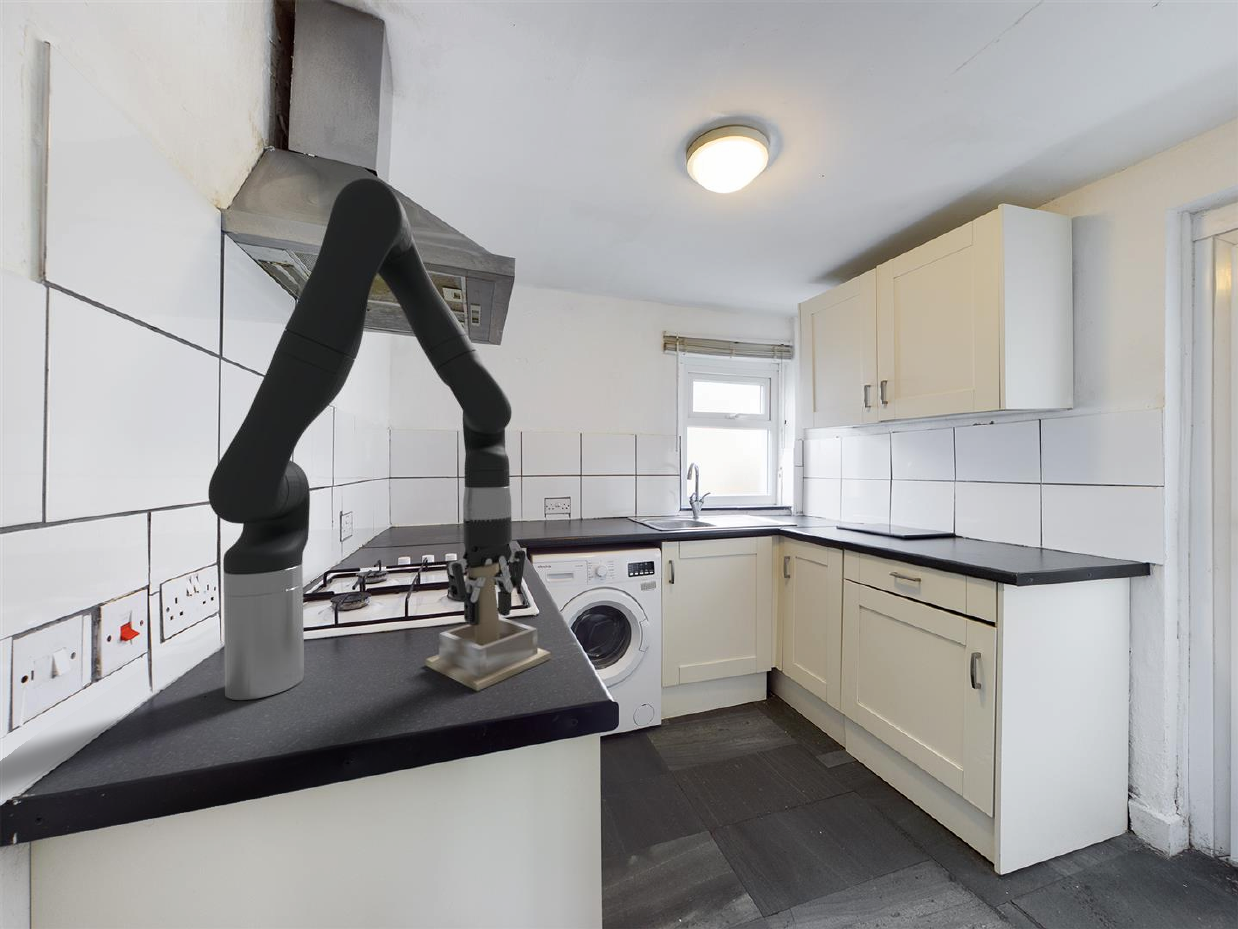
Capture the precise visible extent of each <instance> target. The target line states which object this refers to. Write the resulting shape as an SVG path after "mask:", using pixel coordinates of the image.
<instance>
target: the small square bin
mask: <svg viewBox="0 0 1238 929" xmlns="http://www.w3.org/2000/svg"><path fill="white" fill-rule="evenodd" d="M538 639H539V638H538V628H536V627H534V626H531V625H526V624H523V623H521V622H517V621H515V620H512V619H507V618H505V617H501V616H499V640H497V641H495V642H492V643H489V644H486V645H484V646H480V645H478V644H476V637H475V629H474V626H472V625H469V624H468V623H467V624H464V625H461V626H459V627H455V628H452V629H448V630H445V631H442V632H439V633H438V644H439V646H438V648H439V649H438V654H436V655H433V656H431V657H428V658H425V666H426V667H428V668H430V669H432V670H434V671H435V672H439V673H440V674H443V676H447V677H448V678H451V679H453V680H454V681H457V682H458V683H461V684H462V685H465V686H466V687H468V688H470V689H472V690H475V691H476V692H479V691H481V690H483V689H486V688H488V687H490V686H493V685H495V684H497V683H499V682H501V681H504V680H506V679H509V678H511V677H513V676H515V675H517V674H519V673H521V672H524V671H526V670H529V669H530V668H531V669H532V668H533V667H535V666H537V665H539V664H543V663H545V662H546V661H549V660H551V659H552V652H550V651H547V650H545V649H542V648H539V646H538V645H539V644H538Z"/></svg>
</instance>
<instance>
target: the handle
mask: <svg viewBox="0 0 1238 929" xmlns="http://www.w3.org/2000/svg"><path fill="white" fill-rule="evenodd" d="M466 570H467V573H468V576H470V577H472V578H473V581H476V580H477V578H479V577H480V578H486V580H485V583H484V586H483V587H482V588H481V589H480V592H479V595H478V598H477V601H478V606H479V623H478V625H475V626H474V629H475V637H476V644H478V645H480V646H484V645H486V644H489V643H492V642H495V641H497V640H499V617H500V616H499V615H500V614H499V613H498V598H497V592H496V584H495V583H496V581H495V579H494V576H495V574H496V573H498V572H499V563H498V562H495V563H492V564H491V565H489V566H485V567H482V566H480V567H476V568H470V567H468V569H467V568H466Z"/></svg>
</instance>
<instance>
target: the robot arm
mask: <svg viewBox="0 0 1238 929" xmlns="http://www.w3.org/2000/svg"><path fill="white" fill-rule="evenodd" d="M329 215H330V216H329V219H328V222H327V226H326V229H325V233H324V237H323V239H322V244H321V246H320V249H319V253H318V255H317V258H316V261H315V263H314V266H313V269H312V270H311V272H310V275H309V276H308V279H307V280H306V282H305V285H304V287H303V288H302V291H301V293H300V295H299V298H298V300H297V303H296V304H295V307H294V309H293V311H292V313H291V315H290V318H289V319H288V321H287V323H286V325H285V327H284V330H283V332H282V334H281V337H280V339H279V341H278V343H277V346H276V348H275V351H274V353H273V355H272V358H271V360H270V363H269V365H268V368H267V370H266V373H265V375H264V376H263V379H262V381H261V384H260V386H259V387H258V389H257V392H256V394H255V397H254V399H253V401H252V403H251V405H250V407H249V409H248V412H247V414H246V416H245V418H244V419H243V422H242V423H241V425H240V427H239V428H238V430H237V433H236V434H235V435H234V437H233V439H232V441H231V442H230V443H229V446H228V447H227V449H226V451H225V452H224V454H223V455H222V457H221V458H220V459H219V462H218V464H217V465H216V467H215V469H214V471H213V473H212V476H211V477H210V481H209V486H208V492H207V493H208V502H209V504H210V507H211V509H212V511H213V512H214V513H215V515H216V516H217V517H219V518H220V519H221V520H223V521H225V522H226V523H227V522H228V523H232V524H238V525H239V524H242V531H241V534H240V536H239V537H238V538H237V540H236V542H235V543H234V544H232V546H230V547H229V548H228V549H227V550H226V551H225V553H224V555H223V561H222V562H223V564H222V566H223V615H224V616H223V617H224V618H223V619H224V620H223V623H224V624H223V625H224V626H223V628H224V630H223V631H224V632H223V633H224V635H223V636H224V639H223V640H224V696H225V697H226V698H227V699H229V700H235V701H237V700H238V701H245V700H255V699H260V698H264V697H270V696H272V695H276V694H279V693H282V692H284V691H288V690H289V689H291V688H293V687H295V686H296V685H298V684H300V683H301V682H302V681H303V679H304V676H305V673H304V672H305V667H304V666H305V664H304V662H305V659H304V658H305V657H304V656H305V654H304V652H305V651H304V648H305V647H304V645H305V644H304V643H305V642H304V584H303V583H304V580H303V579H304V578H303V573H304V572H303V559H304V558H303V557H304V556H303V555H304V552H305V551H304V550H305V548H306V546H307V543H308V541H309V540H308V539H309V533H310V512H311V511H310V508H311V506H310V504H311V503H310V502H311V492H310V483H309V480H308V477H307V475H306V472H305V471H304V470H303V469H302V467H301V466H300V465H299V464H297V463H296V462H294V461H293V460H291V458H292V455H293V453H294V451H295V449H296V446H297V445H298V442H299V440H300V439H301V437H302V435H304V433H305V431H306V430H307V429H308V427H309V426H311V424H312V423H313V422H314V421H315V420H316V419H317V418H318V417H319V416H320V414H322V413H323V412H324V411H325V409H327V407H329V405H330V404H331V403H332V402H333V401H334V400H335V399H336V398H337V396H338V395H339V393H340V392H341V390H342V389H343V387H344V386H345V384H346V381H347V380H348V377H349V375H350V373H351V370H352V368H353V366H354V363H355V361H356V359H357V356H358V354H359V350H360V347H361V344H362V340H363V335H364V330H365V322H366V315H367V309H368V301H369V296H370V294H371V293H370V292H371V289H372V286H373V283H374V281H375V279H376V277H377V275H379V276H380V278H381V279H382V280H383V281H384V283H385V284H386V286H387V287H388V289H389V290H390V291H391V292H392V295H393V297H394V298H395V299H396V300H397V303H398V305H399V306H400V308H401V310H402V312H403V313H404V316H405V318H406V320H407V322H408V324H409V326H410V328H411V331H412V333H413V334H414V336H415V338H416V340H417V342H418V344H419V346H420V347H421V349H422V351H423V353H424V355H425V356H426V358H427V359H428V361H429V363H430V364H431V366H432V368H433V370H434V371H435V372H436V374H437V376H438V377H439V378H440V380H441V381H442V382H443V383H444V384H445V385H446V386H447V387H448V388H449V389H450V391H451V392H452V395H453V396H454V398H455V399H456V401H457V403H458V405H459V406H460V408H461V410H462V430H463V432H462V433H463V441H464V442H463V443H464V452H465V453H464V454H465V457H464V458H465V459H464V470H463V471H464V493H463V503H462V516H463V517H462V519H463V521H462V523H463V524H462V528H463V529H462V530H463V531H462V535H463V538H462V539H463V545H464V554H463V555H462V558H459V559H458V560H455V561H451V560H450V561H447V562H446V563H445V569H446V573H447V574H446V575H447V581H448V584H449V585H448V586H449V591H450V595H451V598H452V599H455V600H459V601H462V602H463V618H464V619H463V620H464V621H465V622H466V623H467V625H468V624H469V625H472V626H475V625H478V623H479V606H478V601H477V598H478V595H479V592H480V589H481V588H482V587H483V586H484V583H485V580H486V578H480V577H479V578H477V580H476V581H473V578H472V577H470V576H468V572H467V573H466V570H467V569H468V567H470V568H476V567H480V566H482V567H485V566H489V565H491V564H492V563H495V562H498V563H499V572H498V573H496V574H495V576H494V579H495V583H496V585H497V588H498V590H499V591H498V592H497V607H498V615H500V616H503V617H506V616H509V615H510V613H511V612H510V611H511V610H512V608H513V607H512V606H513V605H512V593H513V590H514V589H515V588H517V587H521V585H522V582H523V575H524V569H525V568H524V567H525V562H526V551H525V550H522V549H515V548H514V549H512V548H511V546H510V543H512V539H513V538H512V537H513V536H512V534H513V533H512V527H513V526H512V522H513V521H512V494H511V490H510V489H511V486H510V460H509V456H508V454H507V451H506V427H508V425H509V424H510V422H511V418H512V413H513V412H512V406H511V403H510V401H509V399H508V397H507V395H506V393H505V392H504V389H503V388H502V387H501V386H500V384H499V383H498V381H497V380H496V379H495V378H494V376H493V375H492V373H491V372H490V370H488V368H487V367H486V365H484V363H483V362H482V359H481V358H480V356H479V354H478V352H477V349H476V348H475V347H474V345H473V343H472V341H471V339H470V338H469V336H468V334H467V333H466V331H465V329H464V327H463V326H462V324H461V322H460V321H459V319H458V318H457V316H456V315H455V314H454V312H453V310H451V308H450V306H449V305H448V304H447V301H445V299H444V298H443V297H442V295H441V294H440V292H439V291H438V289H437V287H436V286H435V284H434V282H433V281H432V279H431V277H430V275H429V272H428V271H427V269H426V267H425V264H424V263H423V260H422V257H421V255H420V253H419V250H418V248H417V245H416V242H415V239H414V237H413V232H412V231H413V230H412V226H411V224H410V221H409V218H408V215H407V213H406V210H405V208H404V206H403V204H402V202H401V200H400V199H399V197H398V196H397V195H396V194H395V192H394V191H393V190H392V188H390V187H389V186H388V185H386V184H385V183H383V182H381V181H380V180H377V179H374V178H359V179H355V180H353V181H351V182H348V183H347V184H346V185H345V186H344V187H343V188H342V189H341V190H340V192H339V193H338V194H337V196H336V198H335V200H334V203H333V205H332V209H331V212H330V214H329ZM508 563H509V566H508ZM465 573H466V576H464V574H465Z"/></svg>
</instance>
